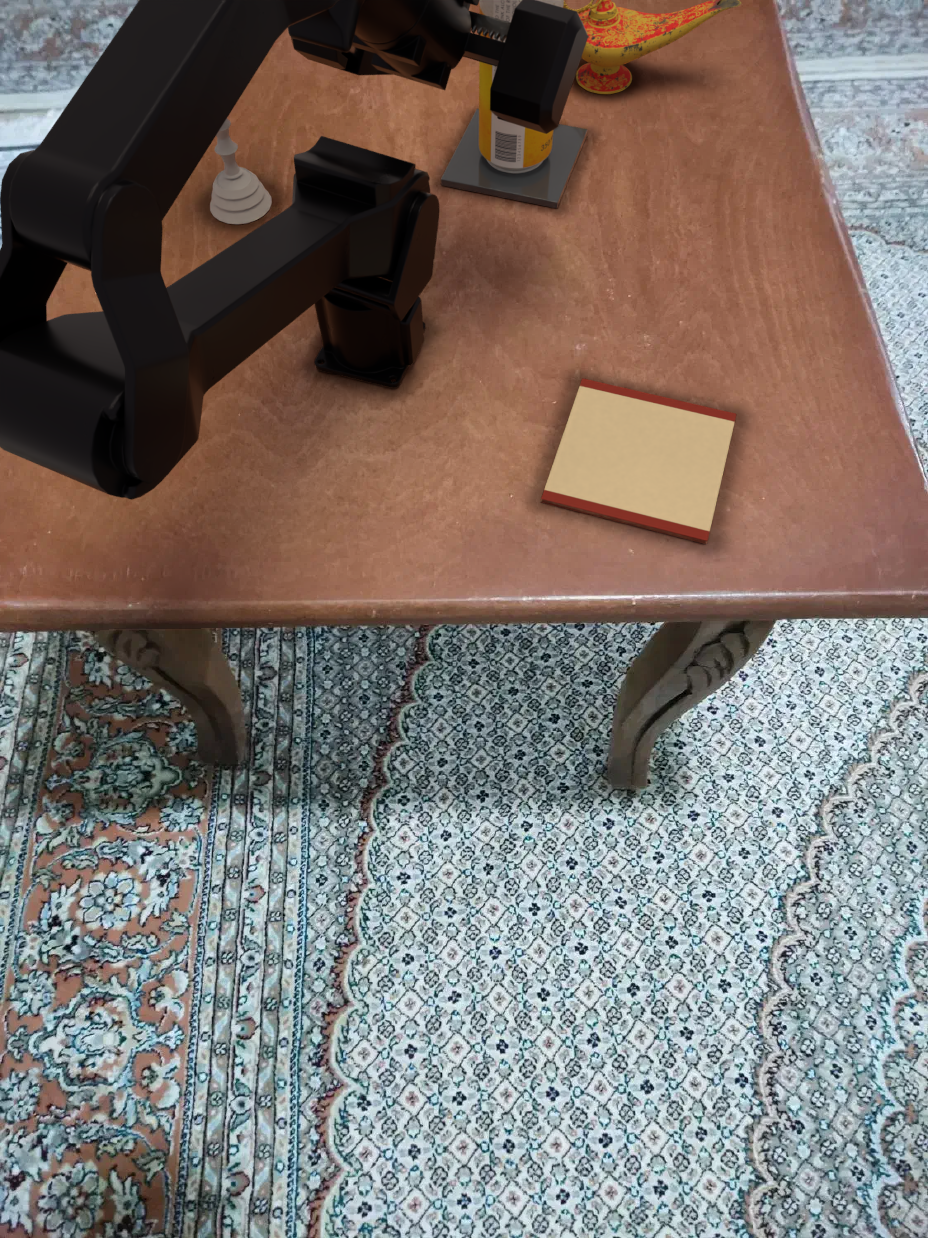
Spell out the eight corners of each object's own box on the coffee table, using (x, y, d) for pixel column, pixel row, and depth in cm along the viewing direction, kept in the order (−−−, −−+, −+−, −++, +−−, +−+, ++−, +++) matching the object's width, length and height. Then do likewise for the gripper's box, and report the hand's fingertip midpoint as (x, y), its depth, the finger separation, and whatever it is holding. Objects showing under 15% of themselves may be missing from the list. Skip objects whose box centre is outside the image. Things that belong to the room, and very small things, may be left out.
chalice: (221, 244, 70) (147, -3, 54) (181, 199, 73) (100, -49, 57) (300, 207, 72) (251, -42, 56) (258, 164, 75) (200, -84, 59)
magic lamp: (723, 105, 78) (759, -35, 68) (520, 96, 79) (527, -43, 69) (720, 59, 81) (753, -80, 72) (524, 52, 82) (531, -87, 72)
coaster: (440, 185, 73) (440, 178, 73) (476, 114, 78) (476, 107, 77) (557, 208, 72) (557, 202, 71) (587, 135, 76) (587, 128, 76)
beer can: (555, 135, 75) (572, -68, 62) (546, 180, 73) (561, -22, 59) (485, 128, 76) (487, -75, 63) (473, 173, 73) (472, -29, 60)
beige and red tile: (540, 502, 58) (541, 498, 58) (581, 381, 63) (582, 377, 63) (706, 544, 57) (707, 540, 56) (735, 417, 61) (736, 413, 61)
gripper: (595, -153, 43) (642, -14, 58) (278, -226, 48) (395, -79, 62) (517, 92, 47) (580, 166, 61) (229, 4, 51) (350, 93, 66)
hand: (475, 82), depth 63 cm, fingers open, 9 cm apart
